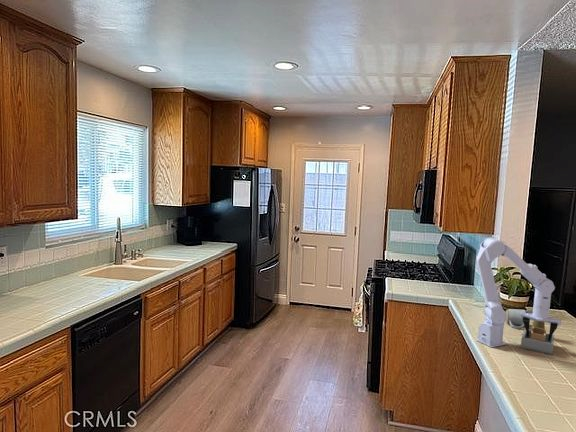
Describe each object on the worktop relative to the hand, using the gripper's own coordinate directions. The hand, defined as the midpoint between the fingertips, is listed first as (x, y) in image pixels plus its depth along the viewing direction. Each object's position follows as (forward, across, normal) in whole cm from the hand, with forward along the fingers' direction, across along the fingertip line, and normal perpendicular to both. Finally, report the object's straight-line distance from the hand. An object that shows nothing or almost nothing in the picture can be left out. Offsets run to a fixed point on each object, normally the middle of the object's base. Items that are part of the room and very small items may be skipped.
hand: (538, 338), depth 172 cm
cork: (+4, -1, +14) cm, 14 cm away
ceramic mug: (+4, -10, +23) cm, 26 cm away
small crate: (+3, 0, 0) cm, 3 cm away
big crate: (+4, 0, 0) cm, 4 cm away
